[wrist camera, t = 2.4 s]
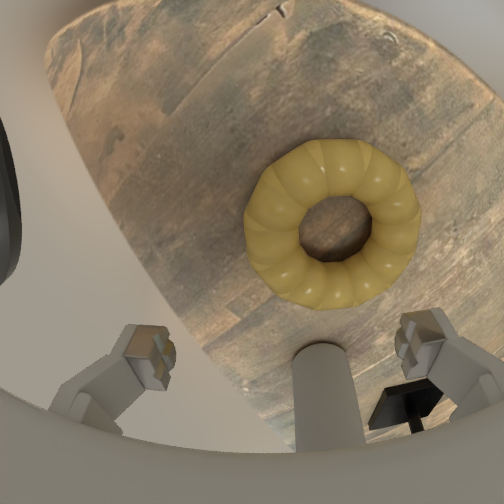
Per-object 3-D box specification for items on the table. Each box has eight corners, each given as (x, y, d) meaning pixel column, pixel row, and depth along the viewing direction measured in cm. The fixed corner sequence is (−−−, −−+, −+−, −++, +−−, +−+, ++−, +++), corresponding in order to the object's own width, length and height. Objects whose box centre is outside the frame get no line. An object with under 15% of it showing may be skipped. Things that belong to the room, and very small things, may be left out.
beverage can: (291, 341, 22) (298, 485, 11) (349, 336, 21) (380, 473, 11) (291, 376, 24) (296, 498, 14) (342, 371, 24) (362, 489, 13)
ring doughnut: (255, 295, 20) (253, 325, 17) (236, 142, 15) (230, 149, 12) (395, 283, 19) (410, 309, 16) (411, 138, 14) (436, 146, 11)
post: (367, 423, 29) (376, 469, 23) (384, 388, 25) (399, 443, 19) (425, 409, 29) (438, 450, 22) (450, 371, 24) (470, 419, 18)
